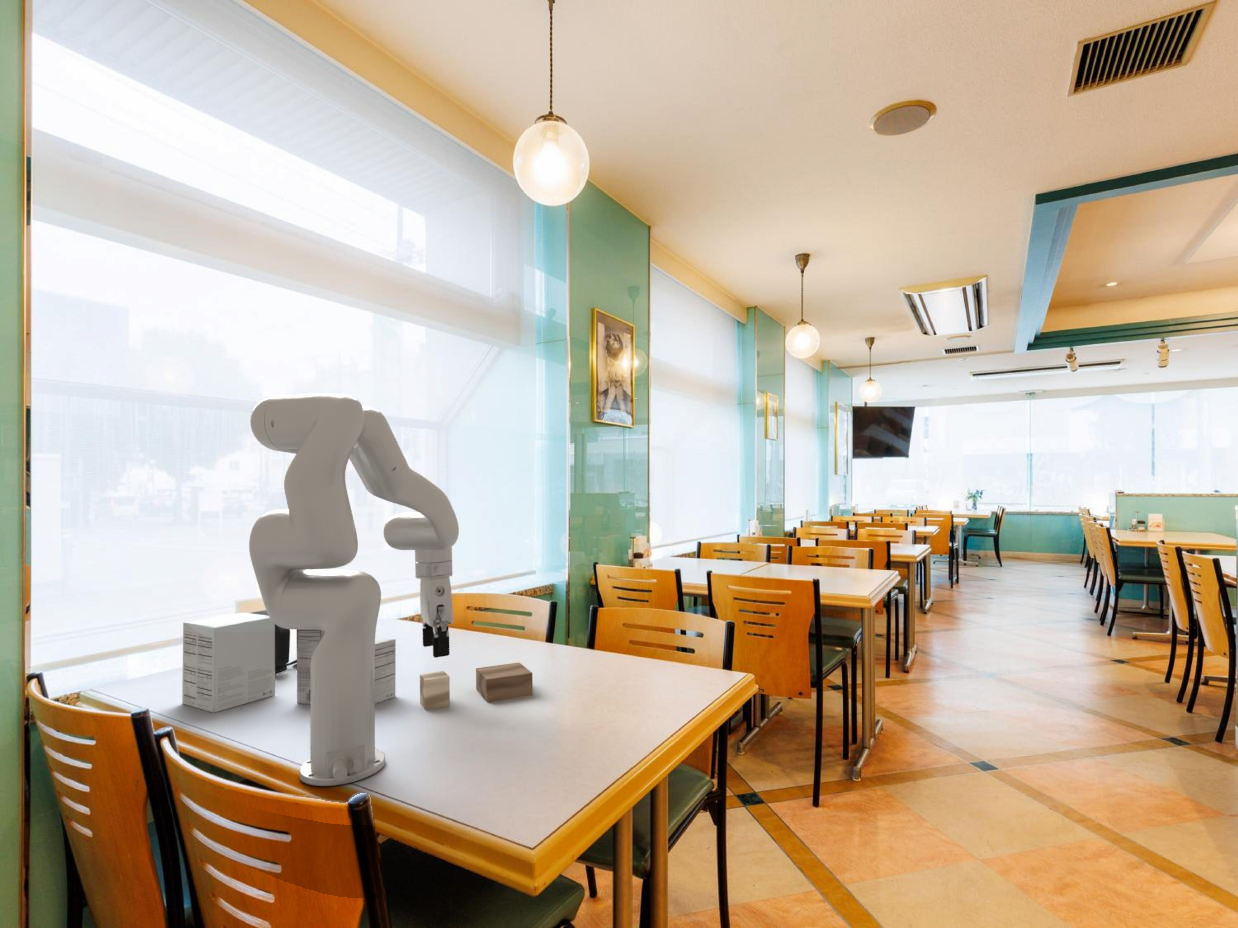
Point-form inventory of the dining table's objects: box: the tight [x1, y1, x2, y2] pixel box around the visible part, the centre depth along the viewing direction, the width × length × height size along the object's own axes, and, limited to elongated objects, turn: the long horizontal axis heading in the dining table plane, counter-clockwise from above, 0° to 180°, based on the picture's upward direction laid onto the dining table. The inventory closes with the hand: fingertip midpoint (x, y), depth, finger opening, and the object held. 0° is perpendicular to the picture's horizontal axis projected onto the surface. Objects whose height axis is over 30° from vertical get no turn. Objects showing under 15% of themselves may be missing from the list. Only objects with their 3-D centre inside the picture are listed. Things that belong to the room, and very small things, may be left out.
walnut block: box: [475, 662, 534, 703], centre depth 142 cm, size 10×10×5 cm
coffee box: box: [296, 629, 325, 705], centre depth 141 cm, size 9×6×16 cm
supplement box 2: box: [375, 636, 397, 705], centre depth 139 cm, size 7×7×13 cm
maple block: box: [419, 670, 451, 710], centre depth 134 cm, size 5×5×6 cm
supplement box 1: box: [181, 611, 276, 713], centre depth 141 cm, size 13×13×18 cm
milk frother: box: [250, 609, 297, 673], centre depth 167 cm, size 14×16×15 cm
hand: (435, 650), depth 135 cm, fingers open, 9 cm apart
